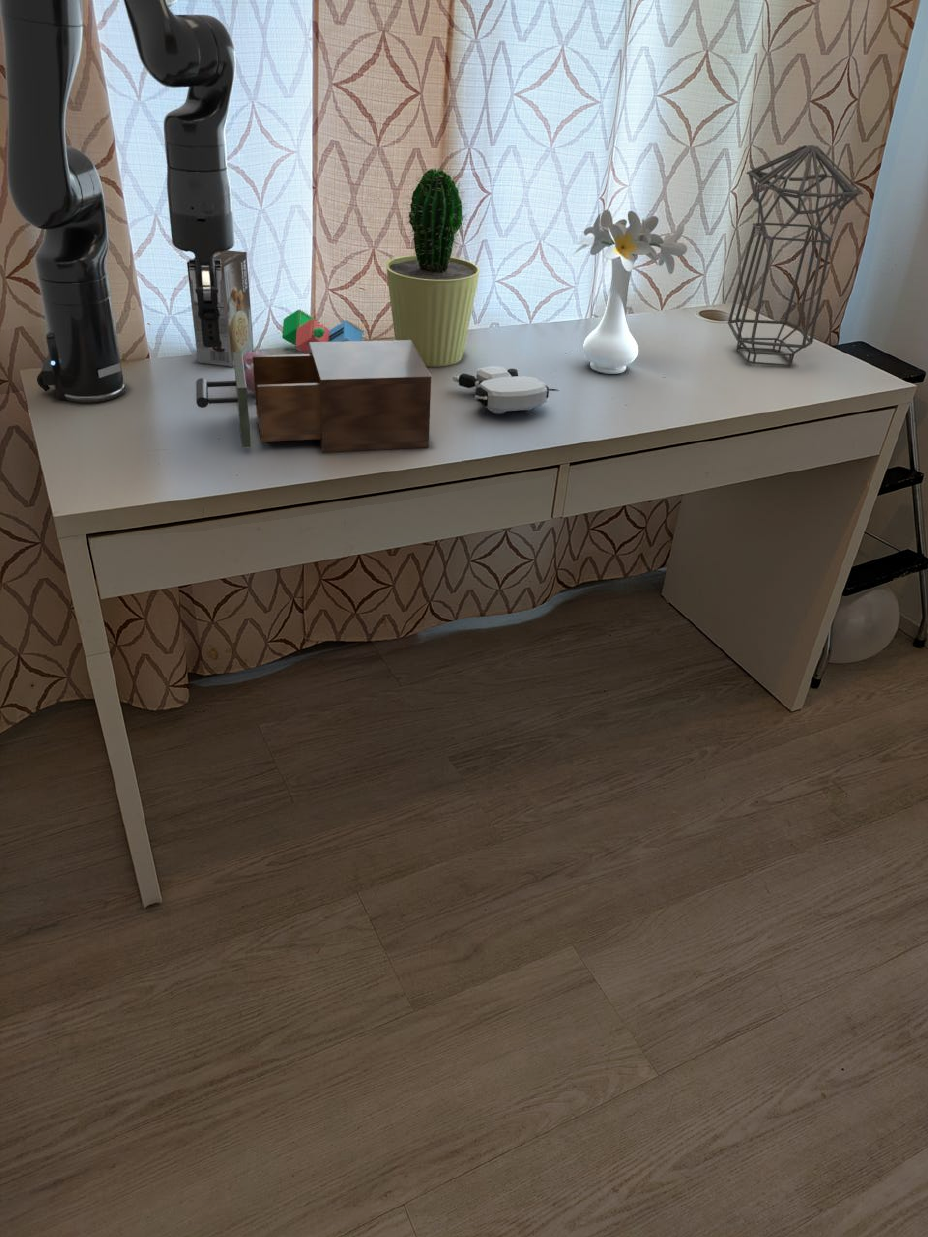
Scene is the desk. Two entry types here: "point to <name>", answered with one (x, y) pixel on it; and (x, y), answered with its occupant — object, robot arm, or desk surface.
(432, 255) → the potted cactus
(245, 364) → the video game controller
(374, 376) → the cabinet
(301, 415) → the drawer
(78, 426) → the desk surface
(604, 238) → the flower vase
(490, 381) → the robot toy
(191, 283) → the coffee box
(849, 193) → the geometric lantern
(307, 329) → the building blocks
